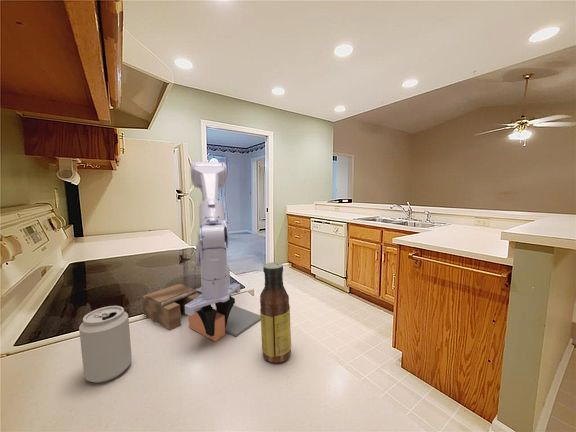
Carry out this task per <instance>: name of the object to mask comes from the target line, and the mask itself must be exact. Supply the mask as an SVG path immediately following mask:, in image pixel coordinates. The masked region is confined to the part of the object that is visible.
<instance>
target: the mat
mask: <svg viewBox="0 0 576 432" xmlns="http://www.w3.org/2000/svg"><path fill="white" fill-rule="evenodd" d="M259 322H261V316H260V314H258V313H255V312H252V311H250V310H247V309H245V308H242V307H239V306H237V305H235V304H234V305H233V307H232V309H231V311H230V314H229V317H228V321H227V325H226V328H225V333H226V334H229V335H231V336H233V337H235V338H237V337H238V336H240V335H241V334H243V333H244V332H246V331H248V330H249V329H250V328H251V327H253V326H254V325H256V324H258V323H259Z"/></svg>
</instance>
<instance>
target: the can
mask: <svg viewBox="0 0 576 432" xmlns="http://www.w3.org/2000/svg"><path fill="white" fill-rule="evenodd" d="M129 319H130V318H129V314H128V313H127V312H126V311H125V309H124V307H122V306H120V305H108V306H104V307H100V308H97V309H94V310H92V311H89V312H88V313H87V314H85V315H84V316H83V318H82V323H81V324H80V325H79V327H78V330H79V339H80V348H81V351H80V352H81V357H82V358H81V359H82V368H83V369H82V370H83V375H84V376H83V377H84V379H85V380H86V381H87V382H92V383H99V384H100V383H105V382H109V381H112V380H113V379H115V378H117V377H119V376H120V375H121V374H123V373H124V372H125V371H126V370H127V369H128V367H129V366H130V365H131V364H132V359H133V358H132V346H131V345H132V344H131V333H130V320H129Z"/></svg>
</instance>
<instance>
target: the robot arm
mask: <svg viewBox="0 0 576 432" xmlns="http://www.w3.org/2000/svg"><path fill="white" fill-rule="evenodd" d="M227 172H228V171H227V164H226V163H225V161H222V162H217V161H215V162H213V161H195V160H192V161H191V163H190V175H191V182H192V185H193V186H194V188H197V189H199V190H200V192H201V193H202V201H201V202H200V204H199V207H198V209H199V210H198V213H199V214H198V215H199V227H198V228H197V242H196V244H195V263H196V265H197V266H199V268H200V284H201V285H200V287H198V288H195V289H196V290H197V292H199V293H200V294H201V295H200V296H198V297H197V298H195V299H194V300H193V301H191V302H190V303H188V304H186V305H185V314H184V315H186V314H187V315H186V316H188V315H189V316H192V315H194V312H197V314H198V315H199V317H200V318H201V320H202V322H203V325H204V328H205V331H206V334H208V335H210V336H213V335H214V332H215V317H216V314H217V312H218V313H220V314H222V315H225V328H226V325H227V321H228V317H229V314H230V311H231V309H232V307H233V305H235V304H236V299H235V298H234V297H232V295H233V294H238V293H240V292H241V284H240V283H235V282H234V283H231V269H230V265H229V264H228V256H227V254H228V253H227V252H228V251H227V249H228V248H229V239H230V238H229V237H230V236H229V228H228V225H227V221H226V220H225V213H224V205H223V203H222V202H221V201H220V200H218V199H219V189H222V188H224V187H225V185H226V184H227V183H226V182H227V180H228V179H227V178H228V177H227V176H228V174H227ZM212 305H215V308H213V306H212ZM189 316H188V317H189Z"/></svg>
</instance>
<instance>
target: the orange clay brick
mask: <svg viewBox="0 0 576 432" xmlns="http://www.w3.org/2000/svg"><path fill="white" fill-rule="evenodd" d="M187 316H188V328H189V329H191V330H193V331H195V332H196V333H199V334H201V335H203V336H204V337H206V338H208V339H210V340H212V341H213V342H217V341H218V340H220V339H221V338H223V337H224V336H226V332H225V315H222V314H220V313H218V312H217V314H216V317H215V332H214V335H213V336H210V335H208V334H206V331H205V328H204V325H203V322H202V320H201V318H200V317H199V315H198V314H197V312H194V315H192V316H189V315H187Z"/></svg>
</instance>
